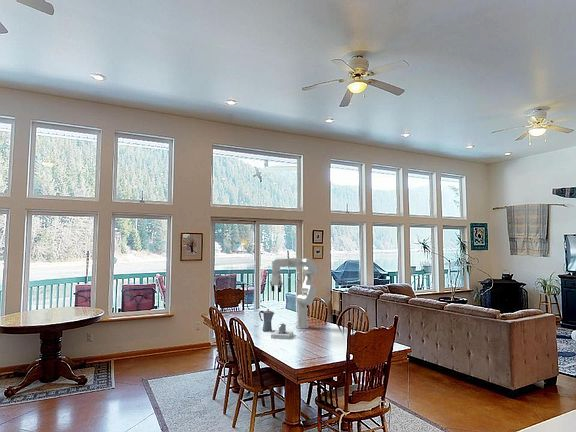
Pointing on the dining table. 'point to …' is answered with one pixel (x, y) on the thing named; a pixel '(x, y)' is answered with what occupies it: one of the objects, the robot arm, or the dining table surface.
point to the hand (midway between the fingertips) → (276, 291)
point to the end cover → (282, 328)
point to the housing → (282, 335)
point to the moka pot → (267, 319)
